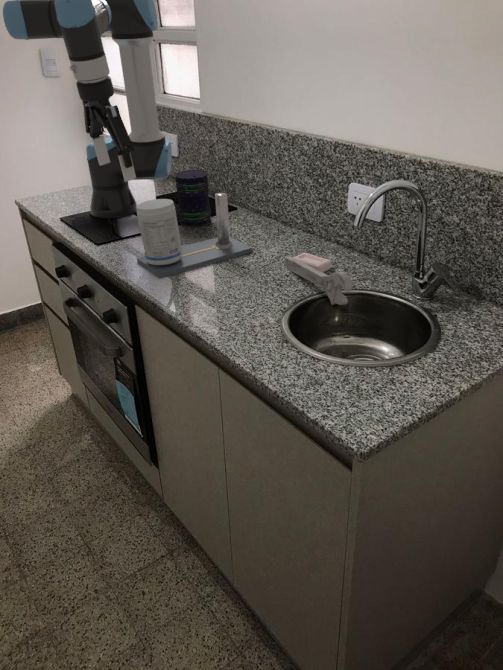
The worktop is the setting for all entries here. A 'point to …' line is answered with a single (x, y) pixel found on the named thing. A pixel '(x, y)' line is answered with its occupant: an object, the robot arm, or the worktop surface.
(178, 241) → the supplement tub
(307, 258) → the soap bar
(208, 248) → the board
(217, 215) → the steel pin
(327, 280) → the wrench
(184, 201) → the storage jar
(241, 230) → the worktop surface
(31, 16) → the robot arm
